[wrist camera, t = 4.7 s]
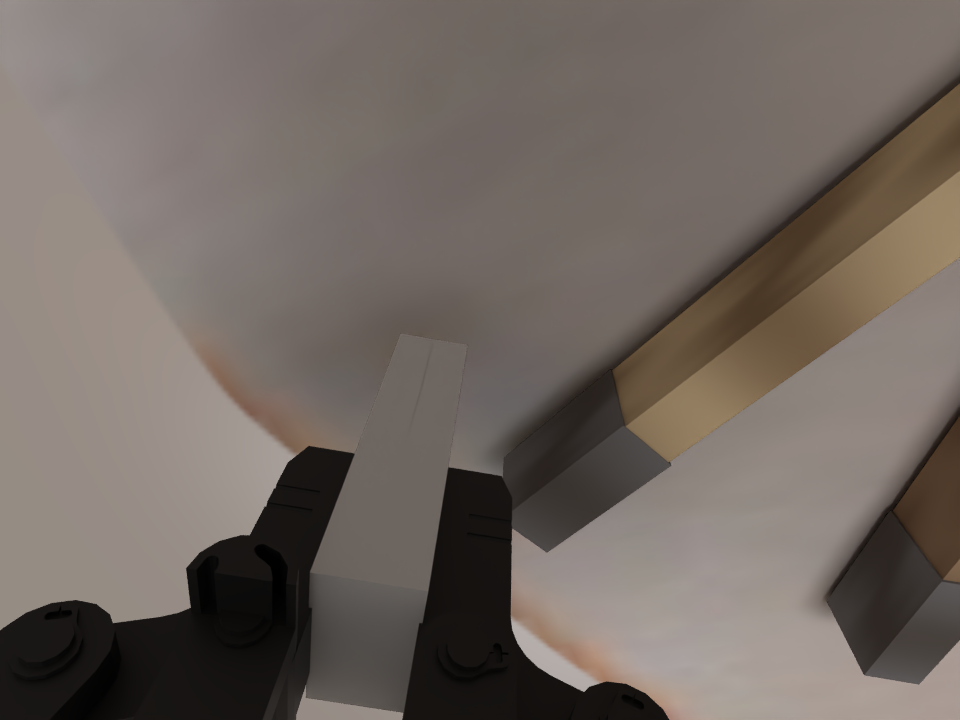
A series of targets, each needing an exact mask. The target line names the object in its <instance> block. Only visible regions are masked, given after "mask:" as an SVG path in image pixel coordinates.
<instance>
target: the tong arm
mask: <svg viewBox="0 0 960 720" xmlns="http://www.w3.org/2000/svg"><path fill="white" fill-rule="evenodd" d="M958 258H960V84H959V85H957V86H956V87H955V88H954V89H953V90H951V91H950V92H949V93H948V94H947V95H945V96H944V97H943V98H942V99H940V100H939V101H938V102H937V103H936V104H934V105H933V106H932V107H931V108H930V109H928V110H927V111H926V112H925V113H924V114H922V115H921V116H920V117H919V118H917V119H916V120H915V121H914V122H913V123H911V124H910V125H909V126H908V127H907V128H905V129H904V130H903V131H902V132H901V133H899V134H898V135H897V136H896V137H894V138H893V139H892V140H891V141H890V142H888V143H887V144H886V145H885V146H884V147H882V148H881V149H880V150H879V151H878V152H876V153H875V154H874V155H873V156H871V157H870V158H869V159H868V160H867V161H865V162H864V163H863V164H862V165H861V166H859V167H858V168H857V169H856V170H855V171H853V172H852V173H851V174H850V175H848V176H847V177H846V178H845V179H844V180H842V181H841V182H840V183H839V184H838V185H836V186H835V187H834V188H833V189H832V190H830V191H829V192H828V193H827V194H825V195H824V196H823V197H822V198H821V199H819V200H818V201H817V202H816V203H815V204H813V205H812V206H811V207H810V208H809V209H807V210H806V211H805V212H804V213H802V214H801V215H800V216H799V217H798V218H796V219H795V220H794V221H793V222H792V223H790V224H789V225H788V226H787V227H786V228H784V229H783V230H782V231H781V232H779V233H778V234H777V235H776V236H775V237H773V238H772V239H771V240H770V241H769V242H767V243H766V244H765V245H764V246H763V247H761V248H760V249H759V250H758V251H756V252H755V253H754V254H753V255H752V256H750V257H749V258H748V259H747V260H746V261H744V262H743V263H742V264H741V265H739V266H738V267H737V268H736V269H735V270H733V271H732V272H731V273H730V274H729V275H727V276H726V277H725V278H724V279H723V280H721V281H720V282H719V283H718V284H716V285H715V286H714V287H713V288H712V289H710V290H709V291H708V292H707V293H706V294H704V295H703V296H702V297H701V298H700V299H698V300H697V301H696V302H695V303H693V304H692V305H691V306H690V307H689V308H687V309H686V310H685V311H684V312H683V313H681V314H680V315H679V316H678V317H677V318H675V319H674V320H673V321H672V322H670V323H669V324H668V325H667V326H666V327H664V328H663V329H662V330H661V331H660V332H658V333H657V334H656V335H655V336H654V337H652V338H651V339H650V340H649V341H647V342H646V343H645V344H644V345H643V346H641V347H640V348H639V349H638V350H637V351H635V352H634V353H633V354H632V355H631V356H629V357H628V358H627V359H626V360H624V361H623V362H622V363H621V364H620V365H618V366H617V367H616V368H615V369H614V370H609V371H608V372H607V373H606V374H604V375H603V376H602V377H601V378H599V379H598V380H597V381H596V382H595V383H593V384H592V385H591V386H590V387H589V388H587V389H586V390H585V391H584V392H583V393H581V394H580V395H579V396H578V397H577V398H575V399H574V400H573V401H572V402H570V403H569V404H568V405H567V406H566V407H564V408H563V409H562V410H561V411H560V412H558V413H557V414H556V415H555V416H554V417H552V418H551V419H550V420H549V421H548V422H546V423H545V424H544V425H543V426H542V427H540V428H539V429H538V430H537V431H535V432H534V433H533V434H532V435H531V436H529V437H528V438H527V439H526V440H525V441H523V442H522V443H521V444H520V445H519V446H517V447H516V448H515V449H514V450H513V451H511V452H510V453H509V454H508V455H507V456H505V457H504V467H503V480H504V482H505V484H506V486H507V488H508V490H509V492H510V494H511V496H512V524H511V525H512V528H513V529H514V530H516V531H517V532H519V533H520V534H521V535H523V536H524V537H526V538H527V539H528V540H530V541H531V542H533V543H534V544H536V545H537V546H538V547H540V548H541V549H543V550H544V551H545V552H549V551H550V550H551V549H553V548H554V547H556V546H557V545H559V544H560V543H561V542H563V541H564V540H566V539H567V538H569V537H570V536H571V535H573V534H574V533H576V532H577V531H579V530H580V529H581V528H583V527H584V526H586V525H587V524H589V523H590V522H591V521H593V520H594V519H596V518H597V517H599V516H600V515H601V514H603V513H604V512H606V511H607V510H609V509H610V508H611V507H613V506H614V505H616V504H617V503H619V502H620V501H621V500H623V499H624V498H626V497H627V496H629V495H630V494H631V493H633V492H634V491H636V490H637V489H639V488H640V487H641V486H643V485H644V484H646V483H647V482H649V481H650V480H651V479H653V478H654V477H656V476H657V475H658V474H660V473H661V472H663V471H664V470H666V469H667V468H668V467H670V466H671V463H670V461H671V460H673V459H674V458H676V457H677V456H679V455H680V454H681V453H683V452H684V451H686V450H687V449H688V448H690V447H691V446H693V445H694V444H696V443H697V442H698V441H700V440H701V439H703V438H704V437H705V436H707V435H708V434H710V433H711V432H713V431H714V430H715V429H717V428H718V427H720V426H721V425H723V424H724V423H725V422H727V421H728V420H730V419H731V418H732V417H734V416H735V415H737V414H738V413H740V412H741V411H742V410H744V409H745V408H747V407H748V406H749V405H751V404H752V403H754V402H755V401H757V400H758V399H759V398H761V397H762V396H764V395H765V394H767V393H768V392H769V391H771V390H772V389H774V388H775V387H776V386H778V385H779V384H781V383H782V382H784V381H785V380H786V379H788V378H789V377H791V376H792V375H793V374H795V373H796V372H798V371H799V370H801V369H802V368H803V367H805V366H806V365H808V364H809V363H811V362H812V361H813V360H815V359H816V358H818V357H819V356H820V355H822V354H823V353H825V352H826V351H828V350H829V349H830V348H832V347H833V346H835V345H836V344H837V343H839V342H840V341H842V340H843V339H845V338H846V337H847V336H849V335H850V334H852V333H853V332H855V331H856V330H857V329H859V328H860V327H862V326H863V325H864V324H866V323H867V322H869V321H870V320H872V319H873V318H874V317H876V316H877V315H879V314H880V313H881V312H883V311H884V310H886V309H887V308H889V307H890V306H891V305H893V304H894V303H896V302H897V301H899V300H900V299H901V298H903V297H904V296H906V295H907V294H908V293H910V292H911V291H913V290H914V289H916V288H917V287H918V286H920V285H921V284H923V283H924V282H925V281H927V280H928V279H930V278H931V277H933V276H934V275H935V274H937V273H938V272H940V271H941V270H943V269H944V268H945V267H947V266H948V265H950V264H951V263H952V262H954V261H955V260H957V259H958Z"/></svg>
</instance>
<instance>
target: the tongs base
mask: <svg viewBox="0 0 960 720" xmlns="http://www.w3.org/2000/svg"><path fill="white" fill-rule="evenodd" d="M827 603H828V605H829V607H830V609H831V611H832V613H833V615H834V617H835V619H836V621H837V623H838V625H839V626H840V628H841V630H842V632H843V634H844V636H845V638H846V640H847V642H848V644H849V646H850V648H851V650H852V652H853V654H854V656H855V658H856V660H857V662H858V664H859V666H860V668H861V670H862V672H863V674H864V675H866V676H872V677H878V678H884V679H890V680H896V681H901V682H907V683H913V684H920V683H921V682H922V681H923V679H924V678H925V677H926V676H927V675H928V674H929V673H930V672H931V671H932V670H933V669H934V667H935V666H936V665H937V664H938V663H939V662H940V661H941V660H942V659H943V658H944V657H945V655H946V654H947V653H948V652H949V651H950V650H951V649H952V648H953V647H954V646H955V645H956V643H957V642H958V641H959V640H960V416H959V418H958V419H957V420H956V422H955V423H954V425H953V426H952V428H951V429H950V430H949V432H948V433H947V435H946V436H945V437H944V439H943V440H942V442H941V443H940V445H939V446H938V447H937V449H936V450H935V452H934V453H933V455H932V456H931V457H930V459H929V460H928V462H927V463H926V464H925V466H924V467H923V469H922V470H921V472H920V473H919V474H918V476H917V477H916V479H915V480H914V482H913V483H912V484H911V486H910V487H909V489H908V490H907V492H906V493H905V494H904V496H903V497H902V499H901V500H900V501H899V503H898V504H897V506H896V507H895V509H894V510H893V511H889V513H888V514H887V516H886V517H885V518H884V520H883V521H882V523H881V524H880V526H879V527H878V528H877V530H876V531H875V533H874V534H873V536H872V537H871V538H870V540H869V541H868V543H867V544H866V546H865V547H864V549H863V550H862V551H861V553H860V554H859V556H858V557H857V559H856V560H855V561H854V563H853V564H852V566H851V567H850V569H849V570H848V571H847V573H846V574H845V576H844V577H843V579H842V580H841V581H840V583H839V584H838V586H837V587H836V589H835V590H834V591H833V593H832V594H831V596H830V597H829V599H828V600H827Z"/></svg>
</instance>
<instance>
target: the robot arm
mask: <svg viewBox="0 0 960 720" xmlns="http://www.w3.org/2000/svg"><path fill="white" fill-rule="evenodd" d="M467 346H468V345H465V344H459V343H453V342H447V341H442V340H436V339H430V338H424V337H418V336H413V335H407V334H400V336H399V339H398V341H397V344H396V347H395V349H394V352H393V355H392V357H391V360H390V363H389V365H388V368H387V370H386V373H385V376H384V378H383V381H382V384H381V386H380V389H379V392H378V394H377V397H376V399H375V402H374V405H373V407H372V410H371V413H370V415H369V418H368V421H367V423H366V426H365V428H364V431H363V434H362V436H361V439H360V442H359V444H358V447H357V450H356V452H355V454H354V453H348V452H342V451H336V450H330V449H324V448H318V447H312V446H308V447H307V448H306V449H304V450H303V451H302V452H301V453H299V454H298V455H297V456H296V457H294V458H293V459H292V460H290V461H289V462H288V464H287V465H286V467H285V469H284V471H283V473H282V475H281V477H280V479H279V480H278V483H277V485H276V488H275V489H274V490H273V492H272V494H271V496H270V498H269V500H268V501H267V506H266V507H264V509H263V511H262V513H261V515H260V517H259V519H258V521H257V523H256V524H255V527H254V528H253V530H252V532H251V534H250V535H247V536H246V535H240V536H237V537H233V538H229V539H226V540H222V541H219V542H217V543H215V544H214V545H212V546H210V547H209V548H207V549H205V550H204V551H202V552H200V553H199V554H198V555H197V557H196V558H195V559H194V560H193V561H192V562H191V563H190V565H189V566H188V567H187V568H186V571H187V579H188V588H189V596H190V604H191V608H189V609H187V610H185V611H182V612H180V613H177V614H172V615H167V616H163V617H157V618H149V619H142V620H134V621H127V622H119V623H113V622H112V619H111V617H110V614H108V613H107V612H106V611H105V610H103V609H102V608H100V607H99V606H98V605H97V604H93V603H88V602H83V601H78V600H73V601H65V602H57V603H51V604H48V605H46V606H43V607H40V608H38V609H35V610H32V611H30V612H27V613H25V614H24V615H22V616H21V617H19V618H18V619H16V620H15V621H13V622H12V623H10V624H9V625H7V626H6V627H4V628H3V629H2V630H0V720H296V714H297V710H298V708H299V704H300V701H301V698H302V695H303V692H304V689H305V685H306V698H311V699H317V700H324V701H330V702H338V703H344V704H350V705H357V706H363V707H370V708H377V709H383V710H390V711H396V712H403V719H402V720H669V718H668V717H667V715H666V714H665V712H664V710H663V709H662V708H661V707H660V706H659V705H658V704H656V703H655V702H654V701H653V700H652V699H651V698H650V697H649V696H648V695H647V694H646V693H644V692H641V691H639V690H637V689H635V688H633V687H631V686H629V685H627V684H623V683H614V682H603V683H600V684H597V685H594V686H591V687H589V688H588V689H587V690H586V691H585V692H583V691H580V690H578V689H576V688H574V687H573V686H571V685H568V684H566V683H564V682H563V681H561V680H558V679H556V678H554V677H553V676H551V675H549V674H548V673H546V672H544V671H543V670H541V669H539V668H538V667H537V666H536V665H535V664H534V663H533V662H531V660H530V659H528V658H527V657H526V655H525V654H524V653H523V651H522V650H521V648H520V647H519V645H518V644H517V641H516V639H515V636H514V634H513V631H512V625H511V554H512V545H511V541H512V525H511V524H512V496H511V494H510V492H509V490H508V488H507V486H506V484H505V482H504V480H503V478H502V476H498V475H492V474H486V473H480V472H474V471H467V470H461V469H455V468H449V467H448V465H449V459H450V452H451V446H452V440H453V434H454V427H455V421H456V415H457V409H458V402H459V396H460V390H461V384H462V377H463V371H464V365H465V359H466V352H467Z"/></svg>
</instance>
